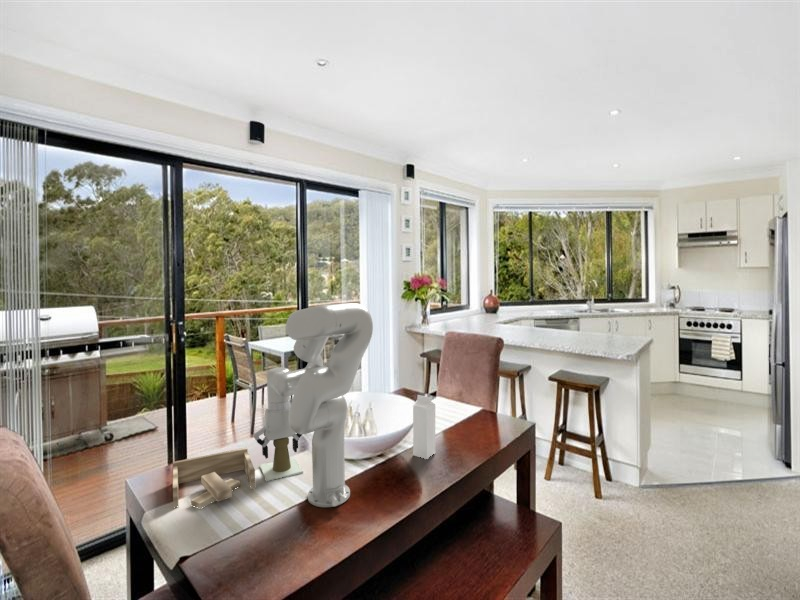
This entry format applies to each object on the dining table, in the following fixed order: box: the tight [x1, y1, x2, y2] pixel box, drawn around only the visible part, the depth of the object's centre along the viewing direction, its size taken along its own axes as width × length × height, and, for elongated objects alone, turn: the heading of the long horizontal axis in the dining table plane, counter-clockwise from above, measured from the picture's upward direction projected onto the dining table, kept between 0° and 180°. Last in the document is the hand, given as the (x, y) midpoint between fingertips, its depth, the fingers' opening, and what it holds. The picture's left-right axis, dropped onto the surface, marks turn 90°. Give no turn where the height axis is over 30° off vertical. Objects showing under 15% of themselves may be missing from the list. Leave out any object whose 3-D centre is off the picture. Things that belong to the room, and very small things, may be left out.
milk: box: [412, 394, 436, 460], centre depth 151 cm, size 6×6×22 cm
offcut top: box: [200, 472, 233, 503], centre depth 124 cm, size 4×14×2 cm, turn 44°
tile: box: [259, 456, 304, 482], centre depth 140 cm, size 12×12×1 cm
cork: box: [272, 437, 291, 472], centre depth 140 cm, size 6×6×11 cm
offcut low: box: [190, 478, 241, 510], centre depth 124 cm, size 4×14×2 cm, turn 152°
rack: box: [172, 446, 256, 508], centre depth 130 cm, size 16×22×7 cm
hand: (280, 453), depth 140 cm, fingers open, 9 cm apart
